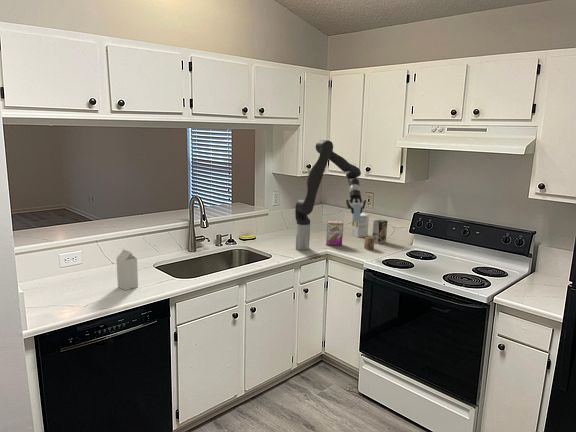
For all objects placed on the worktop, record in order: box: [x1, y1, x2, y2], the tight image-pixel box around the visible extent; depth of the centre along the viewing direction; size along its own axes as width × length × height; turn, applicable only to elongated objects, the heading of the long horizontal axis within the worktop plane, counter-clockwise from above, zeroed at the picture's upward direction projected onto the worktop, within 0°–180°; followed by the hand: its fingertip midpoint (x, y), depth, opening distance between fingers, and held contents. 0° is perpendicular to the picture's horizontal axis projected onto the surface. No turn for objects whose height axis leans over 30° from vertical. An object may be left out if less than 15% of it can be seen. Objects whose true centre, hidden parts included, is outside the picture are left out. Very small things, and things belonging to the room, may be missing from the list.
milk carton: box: [116, 248, 139, 291], centre depth 221 cm, size 7×7×19 cm
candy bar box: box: [325, 220, 344, 247], centre depth 313 cm, size 11×5×16 cm, turn 84°
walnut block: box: [364, 236, 375, 251], centre depth 306 cm, size 5×5×8 cm
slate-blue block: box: [351, 203, 362, 222], centre depth 296 cm, size 4×4×12 cm
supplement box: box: [350, 212, 370, 238], centre depth 343 cm, size 10×9×17 cm
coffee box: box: [371, 219, 388, 245], centre depth 324 cm, size 9×6×16 cm
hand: (356, 213), depth 295 cm, fingers closed on slate-blue block, 4 cm apart
